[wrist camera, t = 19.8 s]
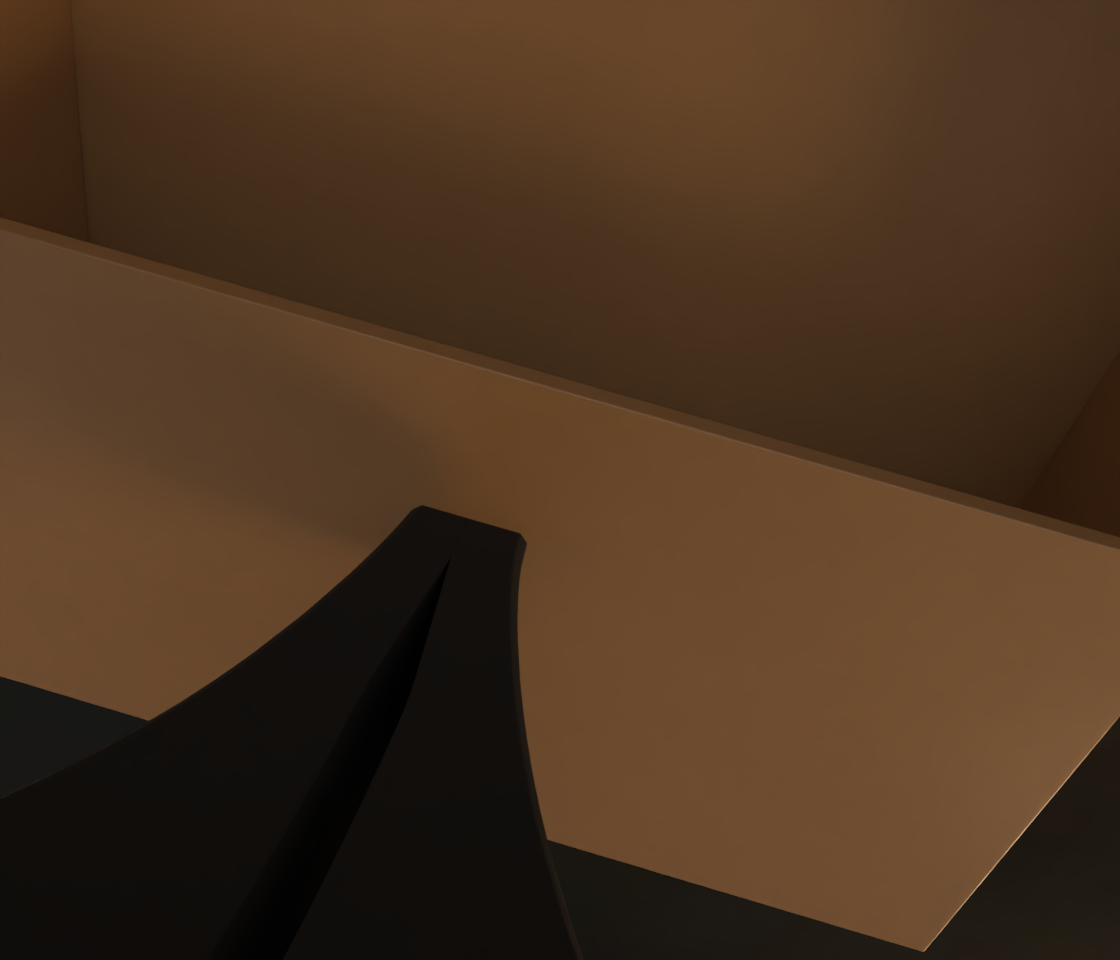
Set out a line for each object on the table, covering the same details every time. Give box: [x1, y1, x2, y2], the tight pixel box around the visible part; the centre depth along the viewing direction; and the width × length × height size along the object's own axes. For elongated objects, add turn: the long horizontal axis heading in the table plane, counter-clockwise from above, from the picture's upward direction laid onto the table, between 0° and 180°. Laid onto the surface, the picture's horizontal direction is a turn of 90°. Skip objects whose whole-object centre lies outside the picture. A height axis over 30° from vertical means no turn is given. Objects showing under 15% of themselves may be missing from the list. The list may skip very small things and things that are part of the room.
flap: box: [0, 217, 1120, 951], centre depth 14 cm, size 8×17×1 cm, turn 78°
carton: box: [0, 0, 1120, 537], centre depth 14 cm, size 17×17×4 cm
